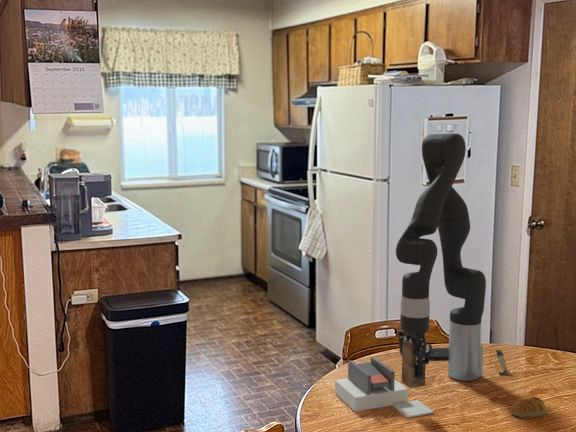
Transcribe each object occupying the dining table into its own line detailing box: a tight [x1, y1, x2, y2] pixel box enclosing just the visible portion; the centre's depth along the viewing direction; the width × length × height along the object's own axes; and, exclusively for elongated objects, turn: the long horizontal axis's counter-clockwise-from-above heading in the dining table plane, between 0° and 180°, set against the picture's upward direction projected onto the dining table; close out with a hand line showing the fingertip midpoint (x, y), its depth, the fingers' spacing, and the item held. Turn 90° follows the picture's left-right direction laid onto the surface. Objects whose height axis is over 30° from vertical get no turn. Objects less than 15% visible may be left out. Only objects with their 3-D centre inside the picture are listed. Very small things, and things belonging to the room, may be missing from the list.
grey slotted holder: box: [334, 356, 409, 412], centre depth 193 cm, size 16×13×9 cm
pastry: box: [510, 396, 548, 419], centre depth 184 cm, size 9×7×4 cm
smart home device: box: [400, 347, 449, 361], centre depth 227 cm, size 8×2×20 cm
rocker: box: [356, 361, 389, 389], centre depth 193 cm, size 5×12×1 cm, turn 21°
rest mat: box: [391, 399, 435, 419], centre depth 186 cm, size 8×8×1 cm
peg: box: [401, 339, 427, 389], centre depth 184 cm, size 4×4×12 cm
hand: (413, 374), depth 185 cm, fingers closed on peg, 4 cm apart
